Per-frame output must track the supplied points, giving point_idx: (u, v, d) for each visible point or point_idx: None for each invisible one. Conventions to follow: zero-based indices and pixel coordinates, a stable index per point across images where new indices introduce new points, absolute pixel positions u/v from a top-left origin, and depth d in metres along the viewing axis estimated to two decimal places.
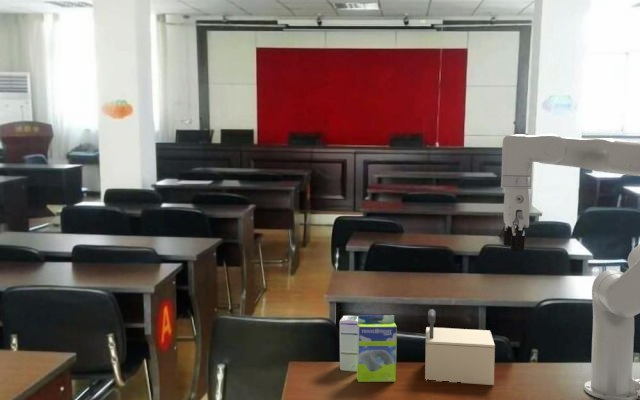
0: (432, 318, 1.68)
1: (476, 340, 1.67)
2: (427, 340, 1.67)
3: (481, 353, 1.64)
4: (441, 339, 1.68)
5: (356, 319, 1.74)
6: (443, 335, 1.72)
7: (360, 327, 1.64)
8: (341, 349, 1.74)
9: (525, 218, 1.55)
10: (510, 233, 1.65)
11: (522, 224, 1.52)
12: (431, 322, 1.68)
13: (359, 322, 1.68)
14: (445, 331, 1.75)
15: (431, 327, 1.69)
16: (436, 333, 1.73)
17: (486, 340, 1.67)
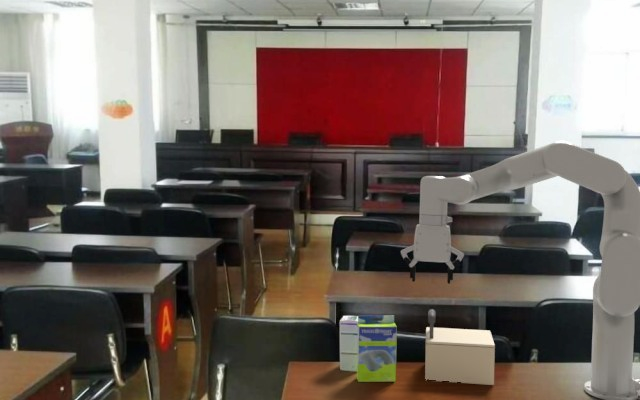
0: (432, 318, 1.68)
1: (476, 340, 1.67)
2: (427, 340, 1.67)
3: (481, 353, 1.64)
4: (441, 339, 1.68)
5: (356, 319, 1.74)
6: (443, 335, 1.72)
7: (360, 327, 1.64)
8: (341, 349, 1.74)
9: None
10: None
11: (462, 257, 1.70)
12: (431, 322, 1.68)
13: (359, 322, 1.68)
14: (445, 331, 1.75)
15: (431, 327, 1.69)
16: (436, 333, 1.73)
17: (486, 340, 1.67)
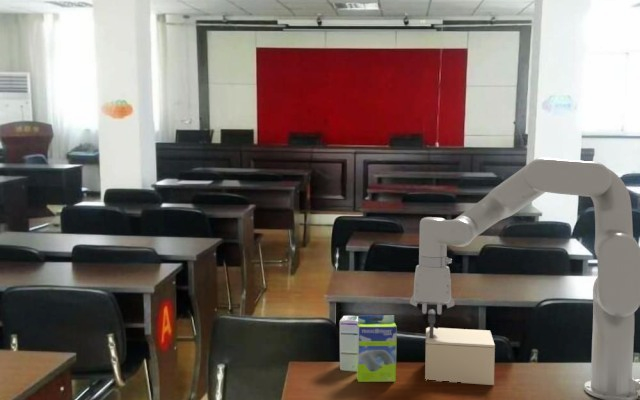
0: (432, 318, 1.68)
1: (476, 340, 1.67)
2: (427, 340, 1.67)
3: (481, 353, 1.64)
4: (441, 339, 1.68)
5: (356, 319, 1.74)
6: (443, 335, 1.72)
7: (360, 327, 1.64)
8: (341, 349, 1.74)
9: None
10: None
11: None
12: (431, 322, 1.68)
13: (359, 322, 1.68)
14: (445, 331, 1.75)
15: (431, 327, 1.69)
16: (436, 333, 1.73)
17: (486, 340, 1.67)
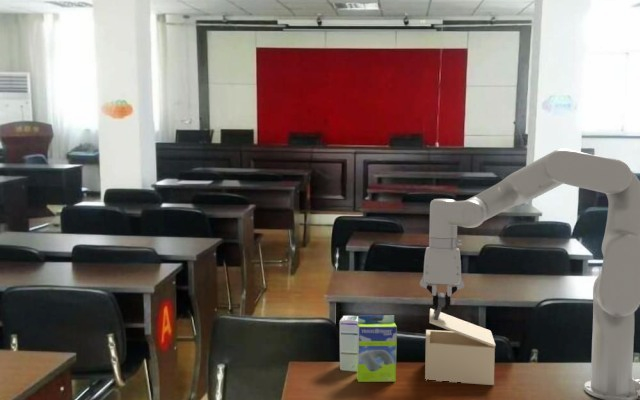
0: (443, 301, 1.67)
1: (478, 335, 1.67)
2: (431, 320, 1.66)
3: (481, 353, 1.64)
4: (445, 324, 1.67)
5: (356, 319, 1.74)
6: (446, 321, 1.71)
7: (360, 327, 1.64)
8: (341, 349, 1.74)
9: None
10: None
11: None
12: (440, 305, 1.67)
13: (359, 322, 1.68)
14: (448, 318, 1.75)
15: (439, 309, 1.68)
16: (439, 317, 1.73)
17: (487, 338, 1.67)
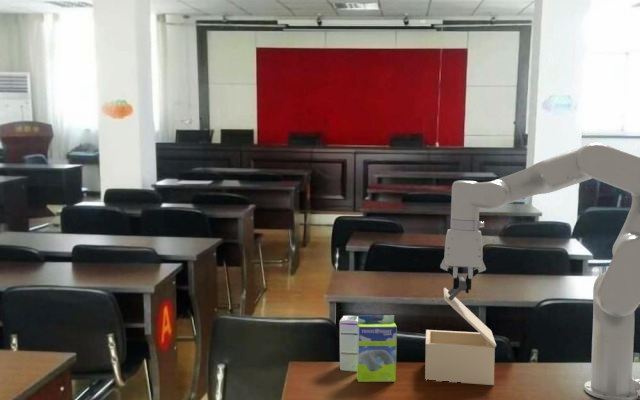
0: (465, 285, 1.66)
1: (482, 330, 1.67)
2: (447, 298, 1.65)
3: (481, 353, 1.64)
4: (457, 307, 1.66)
5: (356, 319, 1.74)
6: (458, 305, 1.70)
7: (360, 327, 1.64)
8: (341, 349, 1.74)
9: None
10: (458, 279, 1.70)
11: None
12: (461, 288, 1.66)
13: (359, 322, 1.68)
14: (459, 303, 1.74)
15: (457, 291, 1.67)
16: (452, 298, 1.72)
17: (489, 336, 1.67)
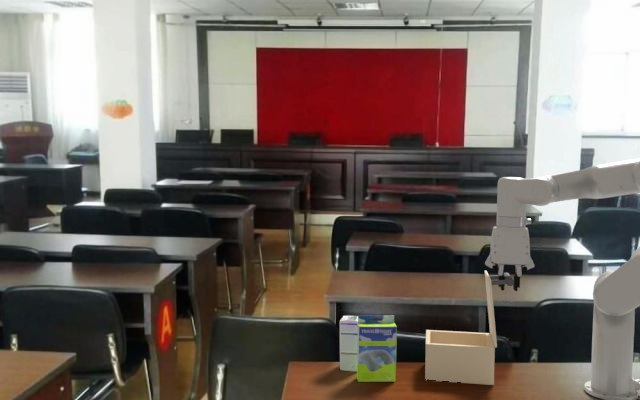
0: (512, 282, 1.64)
1: None
2: (490, 281, 1.63)
3: (481, 353, 1.64)
4: None
5: (356, 319, 1.74)
6: None
7: (360, 327, 1.64)
8: (341, 349, 1.74)
9: None
10: None
11: None
12: (508, 282, 1.64)
13: (359, 322, 1.68)
14: None
15: (502, 282, 1.64)
16: None
17: None
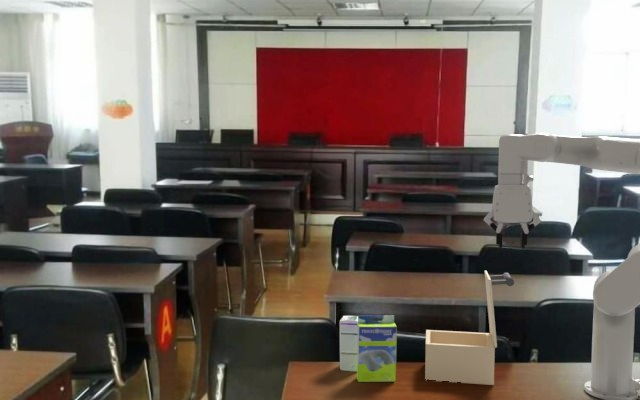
0: (512, 282, 1.64)
1: None
2: (490, 281, 1.63)
3: (481, 353, 1.64)
4: None
5: (356, 319, 1.74)
6: None
7: (360, 327, 1.64)
8: (341, 349, 1.74)
9: None
10: None
11: (537, 223, 1.66)
12: (508, 282, 1.64)
13: (359, 322, 1.68)
14: None
15: (502, 282, 1.64)
16: None
17: None
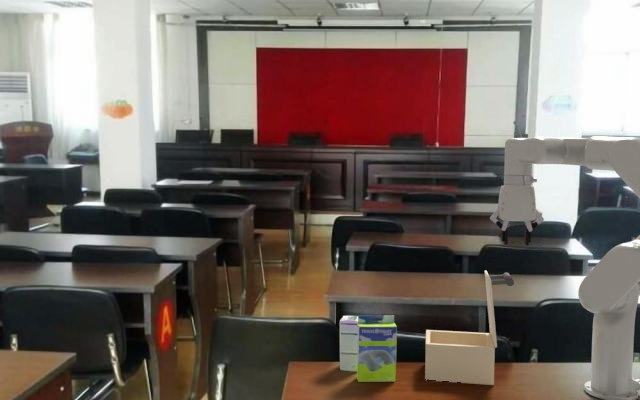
0: (512, 282, 1.64)
1: None
2: (490, 281, 1.63)
3: (481, 353, 1.64)
4: None
5: (356, 319, 1.74)
6: None
7: (360, 327, 1.64)
8: (341, 349, 1.74)
9: None
10: None
11: None
12: (508, 282, 1.64)
13: (359, 322, 1.68)
14: None
15: (502, 282, 1.64)
16: None
17: None
